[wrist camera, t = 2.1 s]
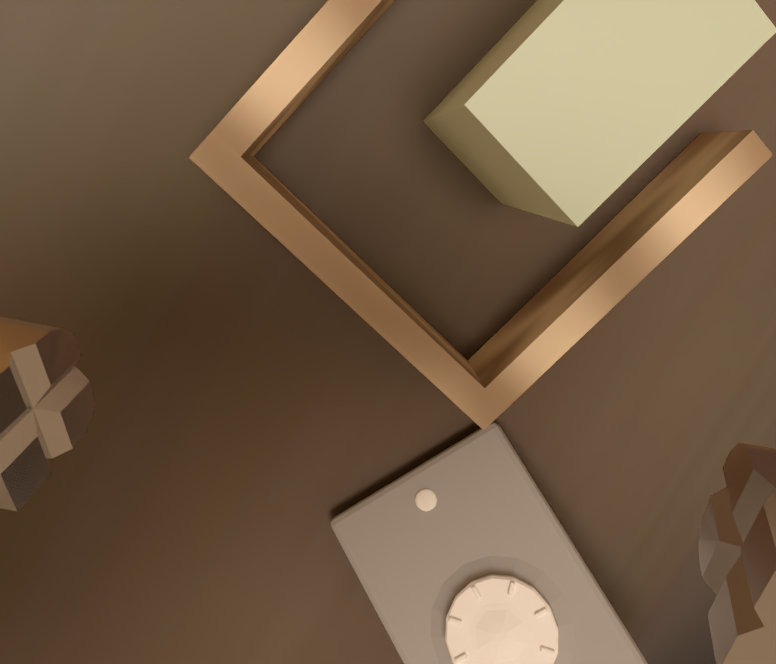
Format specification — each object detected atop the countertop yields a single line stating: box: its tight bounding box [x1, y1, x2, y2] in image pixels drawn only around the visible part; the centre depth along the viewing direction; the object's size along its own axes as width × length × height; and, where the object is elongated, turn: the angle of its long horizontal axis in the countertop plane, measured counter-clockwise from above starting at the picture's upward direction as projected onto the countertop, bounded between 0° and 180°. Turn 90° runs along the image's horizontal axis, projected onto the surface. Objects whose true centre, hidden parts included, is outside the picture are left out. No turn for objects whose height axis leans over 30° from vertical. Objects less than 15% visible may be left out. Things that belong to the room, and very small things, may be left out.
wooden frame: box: [189, 0, 773, 430], centre depth 25 cm, size 14×14×4 cm
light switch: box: [331, 422, 648, 664], centre depth 29 cm, size 8×6×14 cm
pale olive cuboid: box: [423, 0, 776, 227], centre depth 22 cm, size 7×4×9 cm, turn 136°
